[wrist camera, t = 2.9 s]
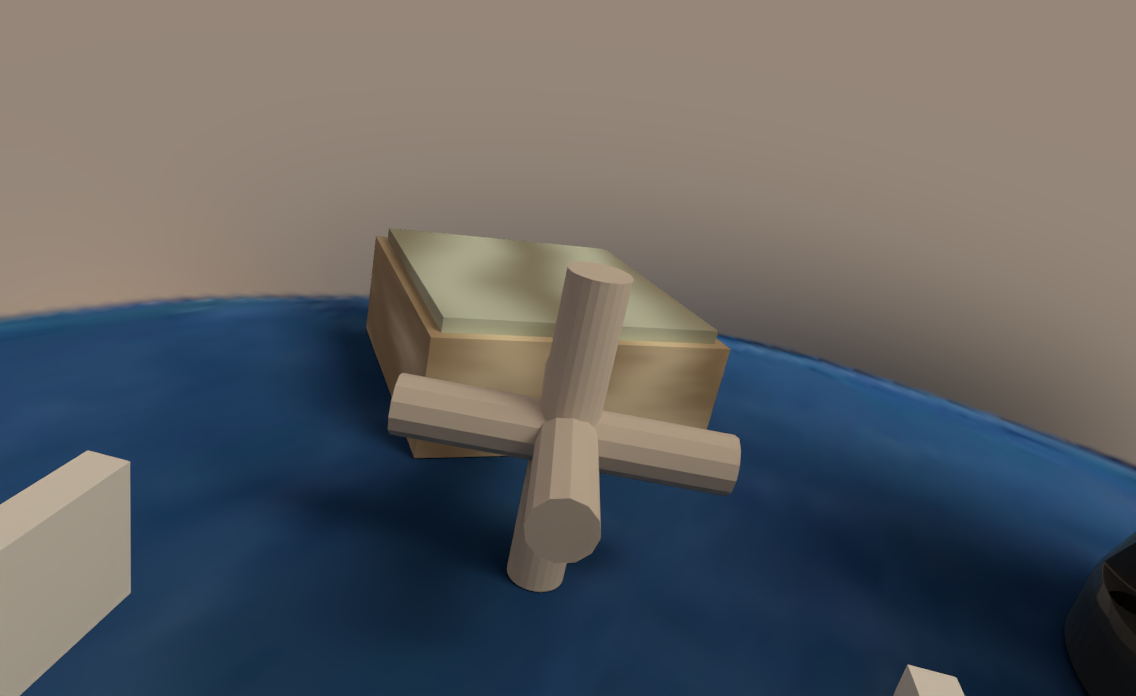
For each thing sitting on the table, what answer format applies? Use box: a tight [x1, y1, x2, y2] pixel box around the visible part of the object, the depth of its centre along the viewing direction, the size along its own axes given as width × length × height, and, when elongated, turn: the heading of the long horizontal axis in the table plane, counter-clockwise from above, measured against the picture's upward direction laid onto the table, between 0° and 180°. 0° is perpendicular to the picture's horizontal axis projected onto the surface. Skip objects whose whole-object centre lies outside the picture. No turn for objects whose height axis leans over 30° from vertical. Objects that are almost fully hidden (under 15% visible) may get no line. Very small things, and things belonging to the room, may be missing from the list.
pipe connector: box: [388, 262, 741, 592], centre depth 22 cm, size 10×10×10 cm
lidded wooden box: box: [366, 228, 730, 458], centre depth 36 cm, size 13×13×6 cm
